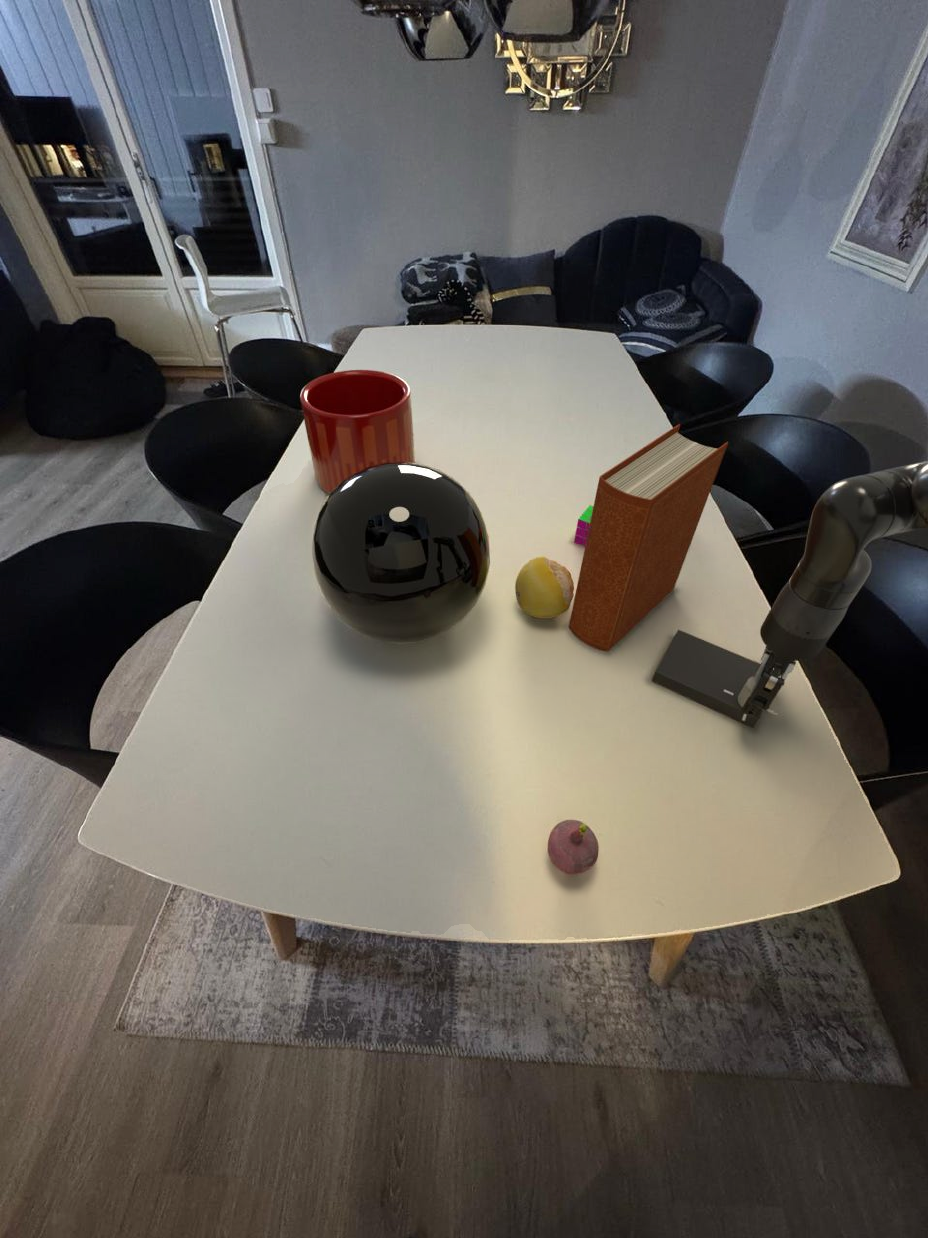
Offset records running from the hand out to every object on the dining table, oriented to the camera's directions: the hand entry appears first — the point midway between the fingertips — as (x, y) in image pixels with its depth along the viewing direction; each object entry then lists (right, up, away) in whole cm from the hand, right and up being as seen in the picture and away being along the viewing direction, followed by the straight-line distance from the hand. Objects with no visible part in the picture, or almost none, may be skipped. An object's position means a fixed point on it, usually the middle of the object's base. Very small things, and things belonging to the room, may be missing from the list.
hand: (756, 694), depth 84 cm
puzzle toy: (-17, +27, +34) cm, 46 cm away
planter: (-66, +44, +49) cm, 94 cm away
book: (-15, +13, +19) cm, 27 cm away
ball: (-53, +12, +17) cm, 57 cm away
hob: (-3, 0, +7) cm, 7 cm away
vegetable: (-30, -19, -12) cm, 38 cm away
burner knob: (0, -1, +2) cm, 2 cm away
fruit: (-29, +13, +19) cm, 37 cm away
